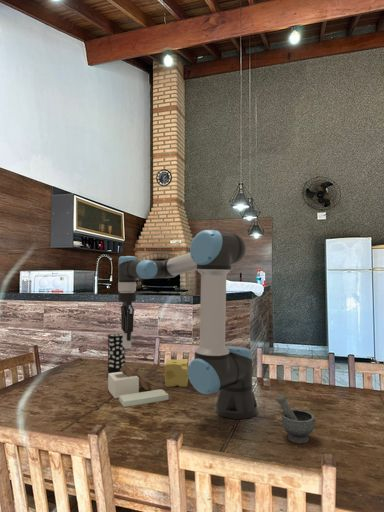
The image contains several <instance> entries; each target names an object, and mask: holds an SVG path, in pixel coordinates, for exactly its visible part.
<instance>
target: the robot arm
mask: <svg viewBox="0 0 384 512" xmlns="http://www.w3.org/2000/svg"><path fill="white" fill-rule="evenodd" d="M246 252H247V246H246V242H245V241H244V239H243V237H241V236H240V234H238V233H235V232H232V231H223V230H217V229H204V230H200V232H198V233H196V235H195V236H194V237H193V238H192V240H191V243H190V247H189V252H188V253H184V254H182V255H178V256H175V257H171V258H168V259H165V260H149V259H141V260H137V257H136V256H135V255H133V256H132V255H126V256H124V255H121V256H119V258H118V264H117V267H118V269H117V270H118V272H117V274H118V275H117V277H118V281H117V282H118V283H117V289H118V291H117V292H118V294H117V295H118V296H117V299H118V300H117V301H118V302H120V303H122V305H121V306H120V319H121V320H120V321H121V322H120V324H121V325H120V326H121V330H122V334H123V347H125V350H126V349H132V333H133V332H134V315H135V309H134V306H133V303H134V302H136V301H137V293H136V291H137V286H138V284H137V279H140V280H141V279H143V280H150V279H172V278H175V277H177V276H178V275H182V274H186V273H190V272H193V271H197V272H198V273H199V274H200V313H199V314H200V316H199V319H200V320H199V324H200V325H199V346H198V347H196V349H195V350H194V352H195V353H194V357H195V358H194V359H192V360H191V362H189V363H188V381H189V382H190V384H191V385H192V386H193V388H194V389H195V390H196V391H198V393H201V394H202V395H210V394H214V393H217V392H218V391H219V392H218V395H217V399H216V402H215V412H216V413H217V415H219V416H221V417H224V418H227V419H231V420H232V419H233V420H243V419H250V418H253V417H255V416H256V415H257V414H258V408H259V407H258V402H257V399H256V397H255V394H254V391H253V360H254V359H253V353H252V351H251V349H249V348H247V347H243V346H234V345H226V320H227V319H226V316H227V315H226V313H227V312H226V311H227V310H226V309H227V275H228V274H229V273H230V272H231V270H232V265H236V264H238V263H240V262H242V260H243V259H244V257H245V255H246ZM132 302H133V303H132Z"/></svg>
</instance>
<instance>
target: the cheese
mask: <svg viewBox="0 0 384 512" xmlns="http://www.w3.org/2000/svg"><path fill="white" fill-rule="evenodd" d="M188 366H189V359H188V358H182V359H181V358H180V359H166V362H165V364H164V386H165V387H166V388H167V387H169V388H170V387H173V388H174V387H181V388H183V387H185V388H188V386H189V385H188V384H189V377H188Z"/></svg>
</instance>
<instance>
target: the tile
mask: <svg viewBox="0 0 384 512" xmlns="http://www.w3.org/2000/svg"><path fill="white" fill-rule="evenodd" d="M120 371H121V372H122V373H123V374H125V375H126V376H128V377H130V376H137V377H139V387H142V388H143V389H144V390H146V391H149V389H150V388H151V386H152V383H151V382H149V381H148V380H147V379H146V378H144V377H143V376H141V375H140V374H139V373H137V372H136V371H134V370H133V369H132V368H131V367H129V366H127V364H126V363H125V364H124V365H123V366H122V367H121V369H120Z"/></svg>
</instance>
